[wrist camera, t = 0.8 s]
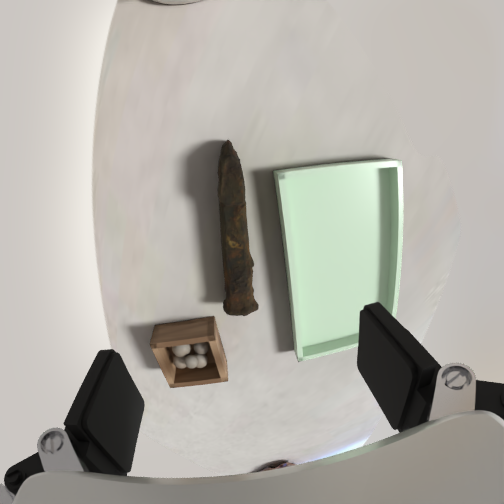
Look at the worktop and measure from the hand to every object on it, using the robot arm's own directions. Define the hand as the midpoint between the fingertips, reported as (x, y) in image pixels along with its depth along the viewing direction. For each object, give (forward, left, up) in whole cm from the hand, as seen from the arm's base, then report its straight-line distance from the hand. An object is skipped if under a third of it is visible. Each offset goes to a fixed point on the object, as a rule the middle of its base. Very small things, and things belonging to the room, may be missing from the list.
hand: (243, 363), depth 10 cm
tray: (+9, +13, -23) cm, 28 cm away
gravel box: (+17, -8, -23) cm, 29 cm away
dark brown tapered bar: (+2, 0, -23) cm, 23 cm away
